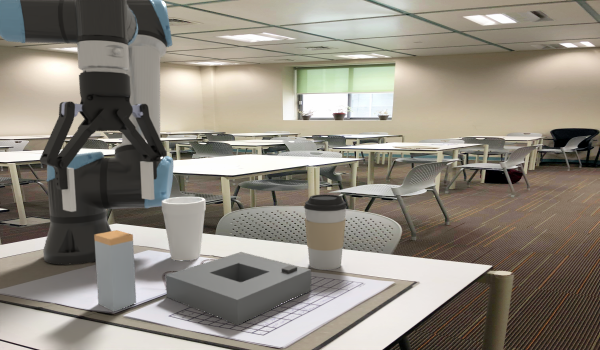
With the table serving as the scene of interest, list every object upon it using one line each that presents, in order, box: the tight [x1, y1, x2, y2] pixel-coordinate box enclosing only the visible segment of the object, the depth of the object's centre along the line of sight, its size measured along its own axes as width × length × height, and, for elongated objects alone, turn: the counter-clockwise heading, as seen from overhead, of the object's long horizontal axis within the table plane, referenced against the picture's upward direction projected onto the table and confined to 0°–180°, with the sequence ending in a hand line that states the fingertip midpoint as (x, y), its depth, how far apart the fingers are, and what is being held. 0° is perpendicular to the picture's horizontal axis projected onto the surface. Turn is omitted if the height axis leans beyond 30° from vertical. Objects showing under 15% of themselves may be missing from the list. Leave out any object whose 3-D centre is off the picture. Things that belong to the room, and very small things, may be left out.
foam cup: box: [161, 196, 207, 261], centre depth 105 cm, size 10×9×13 cm
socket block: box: [165, 251, 312, 326], centre depth 83 cm, size 18×18×5 cm
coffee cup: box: [303, 193, 348, 271], centre depth 99 cm, size 9×9×15 cm
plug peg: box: [94, 230, 137, 312], centre depth 78 cm, size 5×4×12 cm
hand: (111, 204), depth 77 cm, fingers open, 13 cm apart
